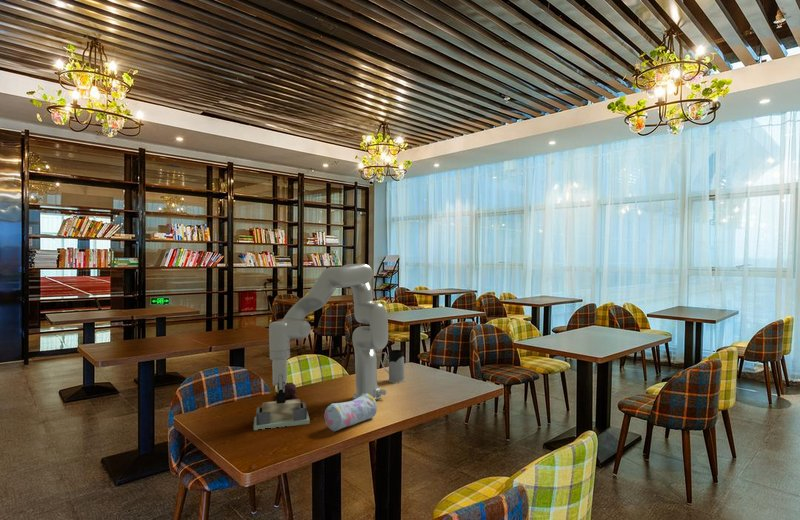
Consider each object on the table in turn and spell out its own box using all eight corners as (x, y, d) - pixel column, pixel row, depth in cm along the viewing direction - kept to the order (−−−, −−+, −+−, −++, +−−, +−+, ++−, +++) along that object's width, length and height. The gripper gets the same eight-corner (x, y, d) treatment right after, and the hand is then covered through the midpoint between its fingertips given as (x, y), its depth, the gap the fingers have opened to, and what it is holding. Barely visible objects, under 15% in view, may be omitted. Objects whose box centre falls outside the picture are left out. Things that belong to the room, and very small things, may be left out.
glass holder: (399, 383, 227) (398, 353, 227) (376, 380, 235) (375, 351, 235) (408, 379, 235) (407, 350, 235) (385, 376, 242) (385, 348, 242)
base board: (307, 414, 183) (307, 411, 183) (309, 423, 172) (309, 419, 172) (254, 420, 178) (254, 417, 178) (253, 430, 167) (253, 426, 167)
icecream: (273, 382, 212) (285, 391, 200) (288, 375, 216) (301, 384, 204) (276, 395, 214) (289, 405, 202) (291, 389, 218) (304, 398, 206)
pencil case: (363, 414, 182) (362, 390, 182) (379, 418, 176) (378, 393, 176) (322, 430, 166) (321, 403, 166) (339, 435, 160) (338, 407, 160)
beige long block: (300, 414, 179) (299, 398, 179) (300, 418, 174) (300, 402, 175) (262, 418, 176) (262, 402, 176) (262, 422, 171) (261, 406, 171)
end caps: (305, 412, 182) (304, 401, 182) (306, 419, 173) (306, 408, 173) (257, 417, 177) (256, 407, 177) (256, 425, 168) (256, 414, 168)
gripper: (269, 351, 182) (270, 398, 181) (269, 358, 167) (270, 409, 167) (289, 350, 184) (290, 396, 183) (290, 356, 169) (292, 407, 169)
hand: (281, 402), depth 175 cm, fingers closed
